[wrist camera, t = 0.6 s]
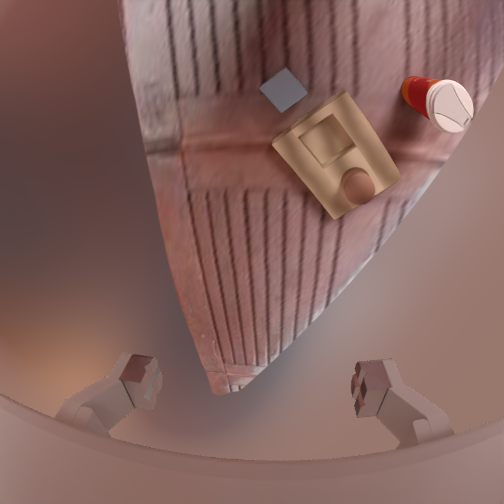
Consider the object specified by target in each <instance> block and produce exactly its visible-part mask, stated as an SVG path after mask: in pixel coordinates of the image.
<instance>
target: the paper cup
mask: <svg viewBox="0 0 504 504" xmlns="http://www.w3.org/2000/svg"><path fill="white" fill-rule="evenodd" d="M401 93H402V96H403V98H404V100H405V101H406V102H407V103H408V104H409V105H410V106H412V107H413V108H414V109H416V110H417V111H418V112H420V113H421V114H422V115H424V116H425V117H426V118H428V119H429V120H430V121H431V122H432V124H433V125H434V126H435V127H436V128H437V129H439V130H440V131H442V132H445V133H457V132H460V131H463V130H464V128H465V127H467V125H468V124H469V122H470V119H471V118H472V117H473V104H472V100H471V98H470V96H469V94H468V93H467V91H466V90H465V89H464V88H463V87H462V86H461V85H460V84H459V83H457V82H455V81H452V80H436V79H431V78H424V77H416V76H413V77H409V78H407V79H406V80H405V81H404V82H403V84H402V87H401Z"/></svg>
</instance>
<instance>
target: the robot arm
mask: <svg viewBox="0 0 504 504" xmlns="http://www.w3.org/2000/svg"><path fill="white" fill-rule="evenodd" d="M157 366H158V361H157V358H155V357H150V356H143V355H137V354H129V353H123V354H121V356H120V357H119V359H118V361H117V363H116V364H115V366H114V367H113V369H112V371H111V373H110V375H109V376H108V377H104V378H102V379H101V380H99V381H97V382H95V383H94V384H92V385H90V386H88V387H87V388H85V389H83V390H81V391H80V392H78V393H76V394H74V395H72V396H71V397H69V398H67V399H66V400H65V401H64V403H63V405H62V406H61V408H60V409H59V411H58V413H57V414H56V416H55V418H52V417H50V416H48V415H45V414H43V413H41V412H38V411H36V410H34V409H32V408H29V407H27V406H25V405H23V404H21V403H19V402H17V401H15V400H13V399H11V398H9V397H7V396H5V395H3V394H0V504H504V416H503V417H501V418H498V419H496V420H493V421H491V422H488V423H486V424H483V425H480V426H478V427H475V428H472V429H469V430H467V431H464V432H461V433H458V434H454V432H453V429H452V427H451V424H450V422H449V419H448V417H447V414H446V413H445V412H444V411H443V410H441V409H440V408H438V407H437V406H436V405H434V404H433V403H431V402H430V401H428V400H427V399H426V398H424V397H423V396H421V395H420V394H419V393H417V392H416V391H414V390H413V389H412V388H410V387H409V386H404V384H403V382H402V380H401V377H400V374H399V372H398V369H397V367H396V365H395V362H394V360H393V359H392V358H389V359H381V360H370V361H359V362H357V363H356V366H355V371H356V373H355V374H354V375H353V377H352V381H351V393H352V397H353V398H354V399H355V400H356V402H355V405H354V407H355V411H356V416H357V418H360V417H370V416H376V417H377V418H378V419H379V420H380V421H381V422H382V423H383V424H384V425H385V426H386V428H387V429H388V430H390V431H391V433H393V435H394V436H395V437H396V438H397V439H398V440H399V441H400V444H399V445H398V447H397V448H396V449H395V450H390V451H385V452H379V453H373V454H366V455H359V456H351V457H341V458H331V459H319V460H318V459H317V460H296V461H295V460H294V461H264V460H240V459H227V458H216V457H207V456H198V455H191V454H185V453H178V452H172V451H167V450H161V449H156V448H151V447H147V446H142V445H138V444H134V443H130V442H126V441H122V440H118V439H114V438H111V436H110V435H109V433H108V431H109V430H110V429H111V428H112V427H114V426H115V425H116V424H117V423H119V422H120V421H121V420H122V419H123V418H125V417H126V416H127V415H128V414H129V413H131V412H132V411H133V410H134V409H135V408H138V409H144V410H151V411H153V408H154V406H155V403H156V401H157V398H156V394H157V393H159V392H160V390H161V387H162V381H163V379H162V373H161V371H160V370H159V369H158V368H157Z"/></svg>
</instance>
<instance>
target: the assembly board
mask: <svg viewBox="0 0 504 504" xmlns="http://www.w3.org/2000/svg"><path fill="white" fill-rule="evenodd" d="M272 146H273V147H274V148H275V149H276V150H277V152H278V153H279V154H280V155H281V156H282V157H283V158H284V160H285V161H286V162H287V163H288V164H289V165H290V166H291V168H292V169H293V170H294V171H295V172H296V174H297V175H298V176H299V177H300V178H301V179H302V181H303V182H304V183H305V184H306V185H307V187H308V188H309V189H310V190H311V192H312V193H313V194H314V195H315V196H316V198H317V199H318V200H319V201H320V203H321V204H322V205H323V206H324V208H325V209H326V210H327V211H328V213H329V214H330V215H331V216H332V218H333V219H334V220H336V219H337V218H339V217H341V216H342V215H344V214H345V213H347V212H349V211H350V210H352V209H354V208H355V207H357V206H359V205H362V204H366V203H368V202H369V201H370V200H371V199H372V198H373V197H374V196H375V195H376V194H378V193H380V192H381V191H383V190H385V189H386V188H388V187H389V186H391V185H393V184H394V183H396V182H397V181H399V180H401V179H402V176H401V174H400V172H399V171H398V169H397V167H396V165H395V164H394V162H393V160H392V159H391V157H390V155H389V154H388V152H387V150H386V149H385V147H384V145H383V144H382V142H381V141H380V139H379V137H378V136H377V134H376V133H375V131H374V130H373V128H372V127H371V125H370V124H369V122H368V121H367V119H366V118H365V116H364V115H363V113H362V112H361V111H360V109H359V108H358V106H357V105H356V104H355V102H354V101H353V99H352V98H351V97H350V95H349V94H348V93H347V92H346V91H345V90H343V89H342V90H341V91H339V92H338V93H336V94H335V95H333V96H332V97H330V98H329V99H327V100H326V101H324V102H323V103H322V104H320V105H319V106H317V107H316V108H314V109H313V110H312V111H310V112H309V113H307V114H306V115H305V116H303V117H302V118H300V119H299V120H298V121H296V122H295V123H293V124H292V125H291V126H289V127H288V128H287V129H285V130H284V131H283V132H281V133H280V134H279V135H277V136H276V137H275V138H273V140H272Z"/></svg>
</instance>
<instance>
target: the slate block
mask: <svg viewBox="0 0 504 504" xmlns="http://www.w3.org/2000/svg"><path fill="white" fill-rule="evenodd" d="M259 89H260V90H261V91H262V92H263V93H264V95H265V96H266V97H267V98H268V99H269V100H270V101H271V102H272V103H273V104H274V105H275V107H276V108H277V109H278V110H279V111H280V112H281V113H283V112H284V111H285V110H287V109H288V108H289V107H291V106H292V105H293V104H295V103H296V102H297V101H299V100H300V99H302V98H303V97H304V96H306V95H307V94H308V92H307V90H306V89H305V88H304V86H303V85H302V84H301V83H300V82H299V81H298V79H297V78H296V77H295V76H294V75H293V74H292V73H291V72H290V70H289V69H288V68H287V67H284V68H283V69H282V70H280V71H279V72H278V73H276V74H275V75H274V76H272V77H271V78H270V79H268V80H267V81H266V82H265V83H263V84H262V85H261V86H260V88H259Z"/></svg>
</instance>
